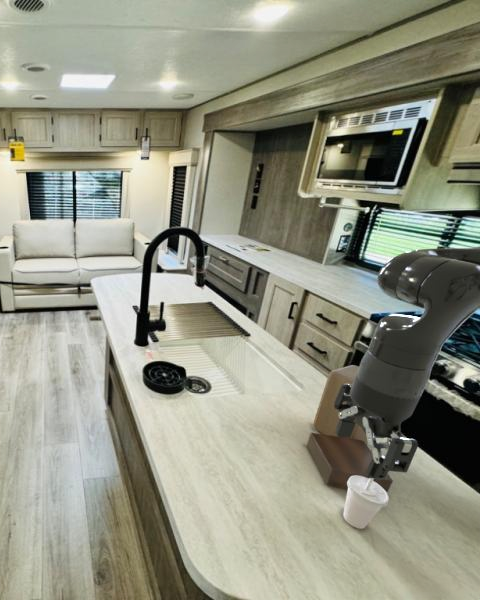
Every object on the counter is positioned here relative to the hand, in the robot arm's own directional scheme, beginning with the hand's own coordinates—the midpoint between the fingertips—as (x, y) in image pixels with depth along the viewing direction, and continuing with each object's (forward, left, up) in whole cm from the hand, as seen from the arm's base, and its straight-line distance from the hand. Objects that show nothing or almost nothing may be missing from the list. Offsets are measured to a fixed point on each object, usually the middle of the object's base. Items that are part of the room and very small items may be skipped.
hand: (356, 454), depth 55 cm
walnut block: (-13, -21, -24) cm, 34 cm away
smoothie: (-9, -7, -24) cm, 27 cm away
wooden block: (-18, -34, -24) cm, 45 cm away
